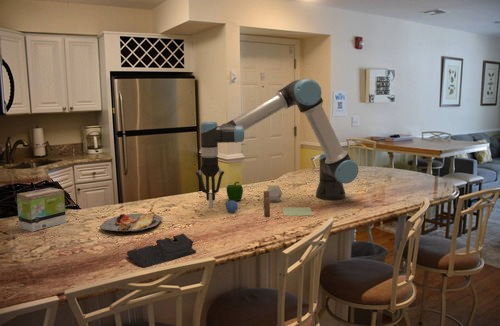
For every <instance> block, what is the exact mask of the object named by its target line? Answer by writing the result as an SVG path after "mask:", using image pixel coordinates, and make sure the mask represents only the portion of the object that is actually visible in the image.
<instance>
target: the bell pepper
mask: <svg viewBox="0 0 500 326" xmlns="http://www.w3.org/2000/svg"><path fill="white" fill-rule="evenodd" d="M225 189H226V195H227V199H228V201H230V200H233V201H235V202H238V201H239V202H240V201H241V199H242V198H243V193H244V191H243V190H244V187H243V186H242V184H240V181H234V183H233V184H228V185H227V187H226V188H225Z"/></svg>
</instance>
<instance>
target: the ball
mask: <svg viewBox="0 0 500 326" xmlns="http://www.w3.org/2000/svg"><path fill="white" fill-rule="evenodd" d="M238 208H239V205H238V203H237V201H233V200H228V201H227V202H226V204H225V210H226V211H228V212H229V213H235V212H236V211H237V210H238Z"/></svg>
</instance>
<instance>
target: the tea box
mask: <svg viewBox="0 0 500 326" xmlns="http://www.w3.org/2000/svg"><path fill="white" fill-rule="evenodd" d="M16 202H17V203H16V204H17V205H16V206H17V216H18V228H19V229H21V230H24V231H28V232H31V233H33V232H36V231H39V230H42V229H47V228H51V227H54V226H57V225H62V224H66V223H67V219H66V218H67V217H66V216H67V214H66V203H65V190H64V189H60V188H59V189H58V188H54V187H48V188H47V187H46V188H41V189H36V190H32V191H31V190H30V191H26V192H25V191H24V192H19V193H16Z"/></svg>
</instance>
